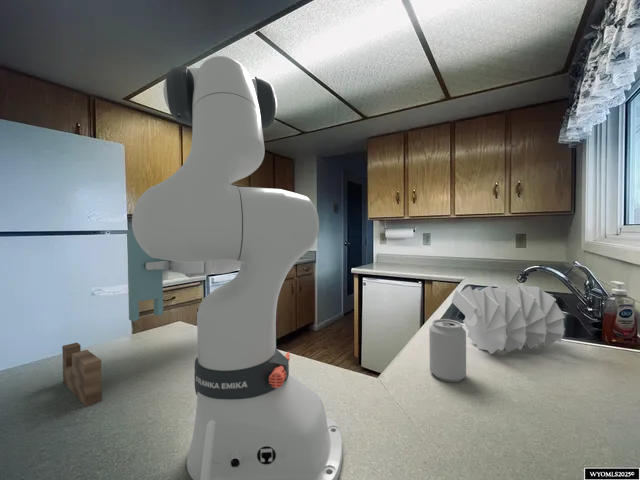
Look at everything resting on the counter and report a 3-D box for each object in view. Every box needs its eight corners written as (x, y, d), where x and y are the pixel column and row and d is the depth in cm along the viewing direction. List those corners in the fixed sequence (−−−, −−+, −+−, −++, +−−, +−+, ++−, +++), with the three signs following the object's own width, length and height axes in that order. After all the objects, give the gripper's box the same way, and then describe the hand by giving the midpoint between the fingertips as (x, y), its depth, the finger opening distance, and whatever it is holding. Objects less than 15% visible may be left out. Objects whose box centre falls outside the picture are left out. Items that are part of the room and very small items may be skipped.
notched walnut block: (101, 400, 56) (101, 359, 56) (85, 406, 54) (84, 364, 54) (77, 377, 65) (76, 342, 65) (63, 381, 63) (62, 345, 63)
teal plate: (163, 314, 74) (161, 230, 74) (133, 321, 68) (131, 229, 68) (158, 313, 76) (157, 230, 76) (129, 319, 70) (126, 230, 70)
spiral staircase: (556, 362, 78) (482, 370, 72) (506, 319, 94) (441, 322, 87) (592, 310, 71) (513, 313, 64) (531, 272, 86) (462, 271, 80)
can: (470, 374, 64) (470, 321, 64) (459, 387, 59) (459, 329, 59) (437, 364, 69) (436, 315, 69) (424, 376, 64) (423, 322, 64)
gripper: (175, 250, 89) (124, 252, 77) (214, 251, 76) (160, 253, 65) (176, 270, 89) (125, 276, 77) (214, 274, 76) (160, 281, 65)
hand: (141, 265), depth 71 cm, fingers closed on teal plate, 2 cm apart
